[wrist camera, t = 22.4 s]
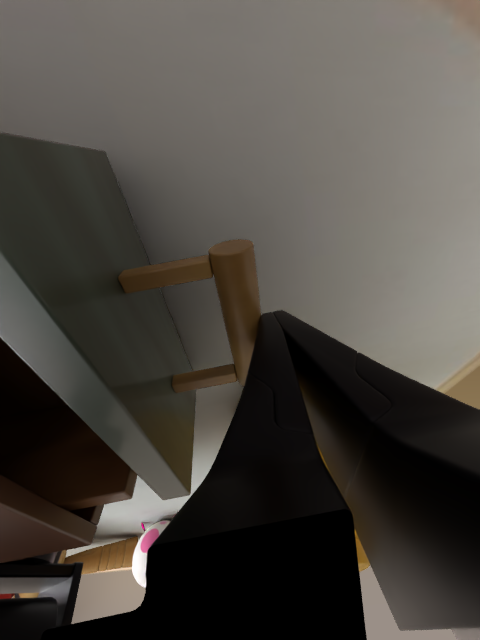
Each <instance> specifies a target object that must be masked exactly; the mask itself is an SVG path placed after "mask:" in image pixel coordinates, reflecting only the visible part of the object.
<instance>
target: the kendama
mask: <svg viewBox="0 0 480 640" xmlns="http://www.w3.org/2000/svg"><path fill="white" fill-rule="evenodd" d="M137 543H138V537H137V536H135V537H132V538H129V539H126V540H122V541H119V542H115V543H111V544H107V545H104V546H103V547H102V546H100V547H96V548H92V549H89V550H86V551H83V552H80V553H77V554H74V555H71V556H68V557H66V550H63V551H62V553H61V556H60V558H59V561H58V563H61V564H72V563H74V562H83V568H82V573H81V574H87V573H94V572H97V571H105V570H106V569H107V570H111V569H117V568H121V567H122V568H125V567H132V560H133V554H134V550H135V548H136V545H137ZM65 557H66V558H65ZM38 595H39V593H11V594H0V599H10V598H12V597H13V596H14V598H36V597H38Z"/></svg>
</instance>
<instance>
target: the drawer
mask: <svg viewBox="0 0 480 640" xmlns="http://www.w3.org/2000/svg"><path fill="white" fill-rule="evenodd" d="M208 254H209V255H203V256H198V257H192V258H187V259H182V260H176V261H171V262H165V263H160V264H155V265H150V263H149V260H148V258H147V255H146V252H145V250H144V247H143V245H142V242H141V240H140V237H139V235H138V232H137V230H136V227H135V225H134V222H133V220H132V217H131V215H130V212H129V210H128V207H127V204H126V202H125V199H124V197H123V194H122V192H121V189H120V187H119V184H118V182H117V179H116V177H115V174H114V172H113V169H112V167H111V164H110V162H109V159H108V156H107V154H106V152H105V151H102V150H96V149H91V148H85V147H80V146H74V145H69V144H63V143H58V142H52V141H47V140H41V139H36V138H30V137H25V136H19V135H14V134H8V133H3V132H0V474H1V475H3V476H5V477H7V478H8V479H10V480H12V481H14V482H16V483H18V484H20V485H21V486H23V487H25V488H27V489H29V490H31V491H33V492H35V493H36V494H38V495H40V496H42V497H44V498H46V499H48V500H49V501H51V502H53V503H55V504H57V505H59V506H61V507H62V508H64V509H66V510H68V511H73V510H78V509H83V508H88V507H93V506H98V505H103V504H108V503H113V502H118V501H123V500H128V499H131V498H132V496H133V492H134V487H135V483H136V479H137V475H138V476H139V477H140V478H141V479H142V480H143V481H144V482H145V483H146V484H147V485H148V486H149V487H150V488H151V489H152V490H153V491H154V492H155V493H156V494H157V495H158V496H159V497H160V498H161V499H162V500H167V499H172V498H177V497H182V496H187V495H190V493H191V475H192V457H193V439H194V420H195V402H196V389H200V388H205V387H211V386H216V385H221V384H226V383H231V382H236V381H237V379H238V382H239V384H240V385H241V386H243V387H244V384H245V380H246V376H247V374H248V369H249V365H250V360H251V356H252V352H253V348H254V344H255V340H256V336H257V332H258V328H259V324H260V319H261V308H260V299H259V290H258V281H257V271H256V262H255V253H254V244H253V242H251V241H249V240H243V239H238V240H229V241H224V242H221V243H218V244H216V245H214V246H212V247H211V248H210V249H209V250H208ZM213 275H214V280H215V284H216V288H217V293H218V297H219V301H220V306H221V310H222V314H223V319H224V323H225V327H226V332H227V336H228V340H229V345H230V349H231V353H232V358H233V362H234V364H229V365H224V366H219V367H213V368H208V369H203V370H198V371H192V369H191V366H190V364H189V361H188V359H187V356H186V354H185V351H184V348H183V346H182V343H181V341H180V338H179V336H178V333H177V331H176V328H175V326H174V323H173V321H172V318H171V316H170V313H169V311H168V308H167V306H166V303H165V300H164V298H163V295H162V293H161V290H160V287H165V286H171V285H176V284H181V283H187V282H192V281H198V280H203V279H208V278H212V277H213Z"/></svg>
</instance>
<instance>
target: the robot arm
mask: <svg viewBox="0 0 480 640" xmlns="http://www.w3.org/2000/svg"><path fill="white" fill-rule="evenodd" d="M317 445H318V446H317ZM318 447H319V449H318ZM319 450H320V452H321V454H322V456H323V459H324V461H325V463H326V465H327V467H326V465H325V463H324V461H323V459H322V457H321V454H320V452H319ZM327 468H328V469H327ZM328 470H329V471H328ZM329 472H330V473H329ZM355 531H356V533H357V536H358V538H359V540H360V542H361V545H362V547H363V549H364V551H365V554H366V556H367V558H368V560H369V563H370V565H371V567H372V569H373V571H374V574H375V576H376V578H377V581H378V583H379V585H380V587H381V590H382V592H383V594H384V596H385V599H386V601H387V603H388V605H389V608H390V610H391V612H392V614H393V617H394V619H395V621H396V623H397V625H398V628H399V629H400V630H402V631H403V630H432V629H452V631H453V633H454V635H455V637H456V639H457V640H480V410H479V409H476V408H474V407H472V406H469V405H467V404H465V403H463V402H460V401H458V400H456V399H454V398H452V397H449V396H447V395H445V394H443V393H441V392H439V391H436V390H434V389H432V388H430V387H428V386H426V385H423V384H421V383H419V382H417V381H415V380H412V379H410V378H408V377H406V376H404V375H402V374H400V373H398V372H396V371H394V370H391V369H389V368H387V367H385V366H383V365H382V364H380V363H378V362H376V361H374V360H372V359H370V358H368V357H367V356H365V355H363V354H361V353H357V351H356V350H354V349H352V348H350V347H348V346H347V345H345V344H343V343H341V342H339V341H338V340H336V339H334V338H332V337H330V336H328V335H327V334H325V333H323V332H321V331H319V330H318V329H316V328H314V327H312V326H310V325H309V324H307V323H305V322H303V321H301V320H300V319H298V318H296V317H294V316H292V315H291V314H289V313H287V312H285V311H283V310H280V311H275V312H270V313H264V314H262V315H261V319H260V324H259V328H258V332H257V336H256V340H255V344H254V348H253V352H252V356H251V360H250V365H249V369H248V374H247V376H246V380H245V384H244V388H243V391H242V395H241V398H240V400H239V403H238V406H237V408H236V411H235V414H234V416H233V418H232V421H231V423H230V426H229V428H228V430H227V433H226V435H225V438H224V440H223V442H222V445H221V447H220V450H219V452H218V454H217V457H216V459H215V461H214V463H213V465H212V467H211V469H210V471H209V473H208V474H207V476H206V478H205V479H204V481H203V482H202V483H201V485H200V486H199V487H198V488H197V490H196V491H195V492H194V493H193V495H192V496H191V497H190V498H189V500H188V501H187V502H186V503H185V504H184V506H183V507H182V508H181V509H180V511H179V512H178V513H177V514H176V515H175V517H174V518H173V519H172V520H171V522H170V523H169V524H168V525H167V527H166V528H165V529H164V530H163V531H162V533H161V534H160V535H159V536H158V538H157V539H156V540H155V541H154V542H153V544H152V545H151V546H150V547H149V549H148V551H147V563H146V573H145V575H146V593H145V597H144V600H143V602H142V604H141V606H139V607H138V608H137V609H136V610H134V611H131V612H127V613H122V614H117V615H113V616H108V617H103V618H99V619H94V620H90V621H84V622H80V623H75V624H71V622H72V617H73V612H74V607H75V602H76V598H77V592H78V588H79V583H80V578H81V573H82V568H83V562H74V563H72V564H61V563H58V561H59V558H60V556H61V553H62V551H58V552H53V553H48V554H44V555H39V556H34V557H29V558H24V559H19V560H14V561H9V562H4V563H0V594H11V593H39V595H38V597H36V598H10V599H0V640H367V638H366V630H365V622H364V613H363V603H362V594H361V585H360V576H359V566H358V557H357V548H356V538H355Z"/></svg>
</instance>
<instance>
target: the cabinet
mask: <svg viewBox="0 0 480 640" xmlns="http://www.w3.org/2000/svg"><path fill="white" fill-rule="evenodd" d="M103 507H104V504H103V505H98V506H93V507H88V508H83V509H78V510H73V511H68V510H66V509H64V508H62V507H61V506H59V505H57V504H55V503H53V502H51V501H49V500H48V499H46V498H44V497H42V496H40V495H38V494H36V493H35V492H33V491H31V490H29V489H27V488H25V487H23V486H21V485H20V484H18V483H16V482H14V481H12V480H10V479H8V478H7V477H5V476H3V475H1V474H0V563H4V562H9V561H14V560H19V559H24V558H29V557H34V556H39V555H44V554H48V553H53V552H58V551H63V550H68V549H73V548H78V547H83V546H88V545H91V544H92V542H93V538H94V535H95V532H96V529H97V526H96V525H98V523H99V519H100V516H101V513H102V510H103Z"/></svg>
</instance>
